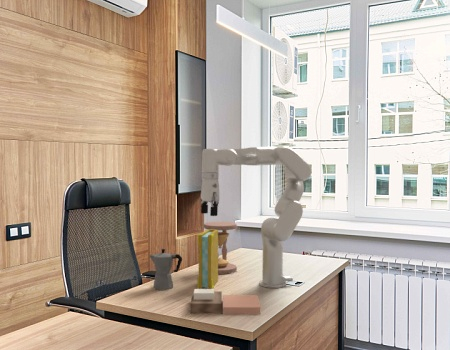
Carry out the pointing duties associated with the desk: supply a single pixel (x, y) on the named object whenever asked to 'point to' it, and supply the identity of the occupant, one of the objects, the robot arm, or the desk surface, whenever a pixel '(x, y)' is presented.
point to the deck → (207, 305)
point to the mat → (241, 304)
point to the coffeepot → (164, 269)
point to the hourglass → (222, 239)
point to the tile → (204, 294)
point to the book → (208, 259)
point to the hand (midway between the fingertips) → (209, 214)
